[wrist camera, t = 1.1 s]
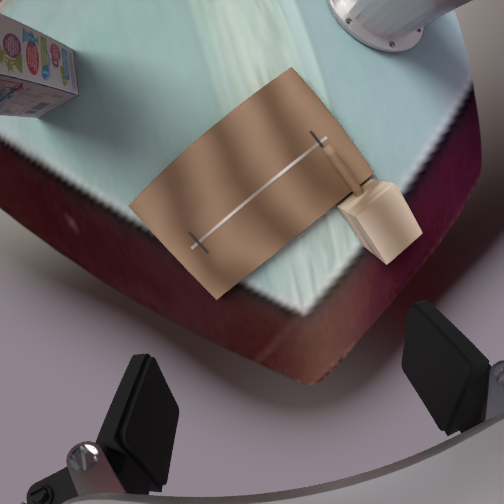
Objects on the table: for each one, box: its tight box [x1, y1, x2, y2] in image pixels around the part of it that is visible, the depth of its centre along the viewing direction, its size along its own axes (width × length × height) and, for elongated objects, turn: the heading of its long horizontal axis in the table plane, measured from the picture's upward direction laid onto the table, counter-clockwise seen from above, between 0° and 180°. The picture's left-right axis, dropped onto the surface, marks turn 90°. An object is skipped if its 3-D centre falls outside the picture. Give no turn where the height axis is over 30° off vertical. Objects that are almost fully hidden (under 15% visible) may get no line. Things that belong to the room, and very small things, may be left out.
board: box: [129, 67, 374, 299], centre depth 30 cm, size 22×14×1 cm, turn 130°
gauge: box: [322, 143, 422, 265], centre depth 28 cm, size 5×12×6 cm, turn 40°
